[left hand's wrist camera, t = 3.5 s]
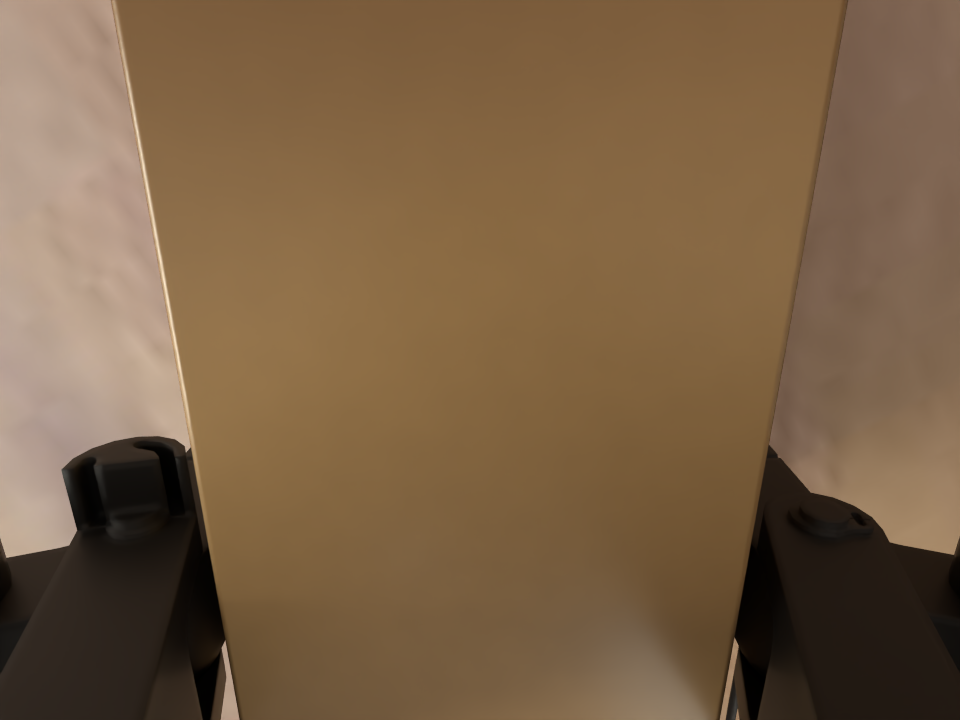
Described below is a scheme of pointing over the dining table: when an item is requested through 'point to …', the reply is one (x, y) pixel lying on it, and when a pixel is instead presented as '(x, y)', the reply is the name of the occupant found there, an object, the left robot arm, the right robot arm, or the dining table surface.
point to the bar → (479, 334)
